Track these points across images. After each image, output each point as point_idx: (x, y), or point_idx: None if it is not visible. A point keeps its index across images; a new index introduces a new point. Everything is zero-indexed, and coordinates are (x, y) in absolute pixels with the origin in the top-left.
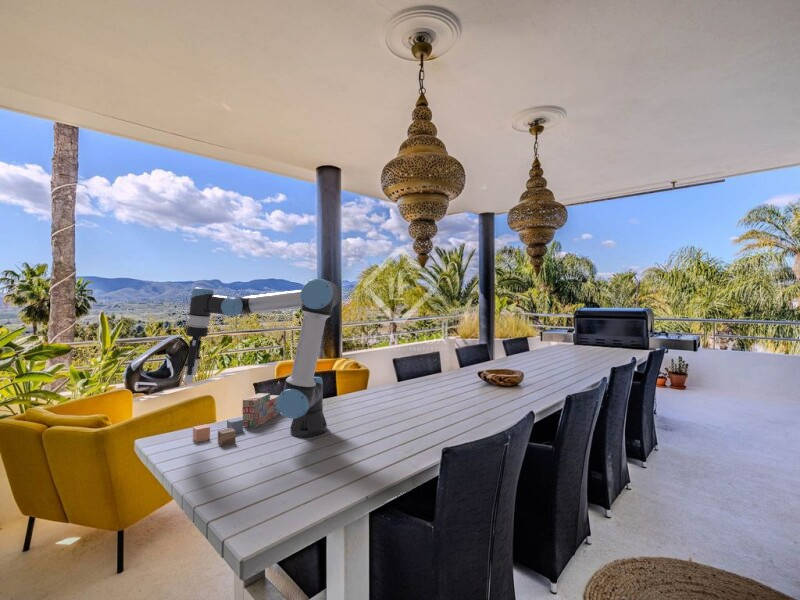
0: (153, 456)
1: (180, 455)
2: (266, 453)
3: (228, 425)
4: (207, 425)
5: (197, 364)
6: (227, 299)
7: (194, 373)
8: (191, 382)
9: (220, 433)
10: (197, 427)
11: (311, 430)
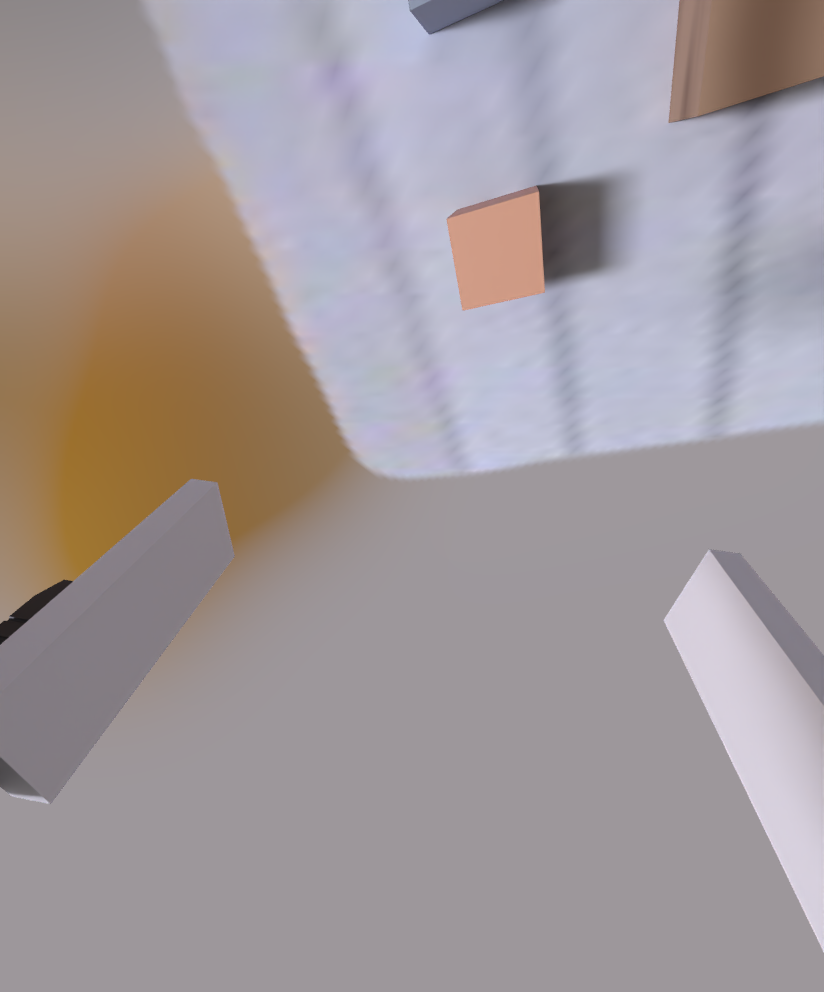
0: (610, 445)
1: (703, 350)
2: None
3: (457, 2)
4: (486, 211)
5: (83, 612)
6: None
7: (207, 515)
8: (742, 570)
9: (783, 88)
10: (494, 282)
11: None
